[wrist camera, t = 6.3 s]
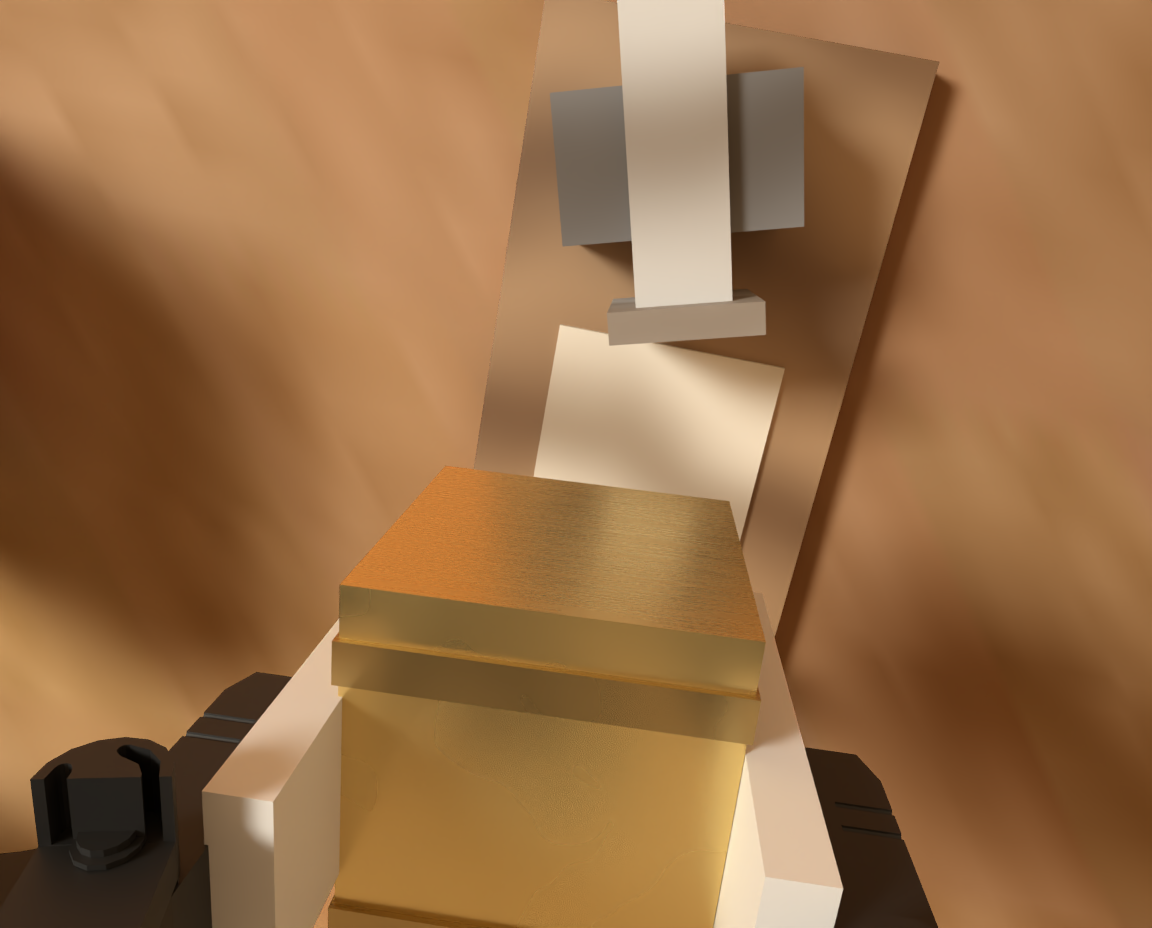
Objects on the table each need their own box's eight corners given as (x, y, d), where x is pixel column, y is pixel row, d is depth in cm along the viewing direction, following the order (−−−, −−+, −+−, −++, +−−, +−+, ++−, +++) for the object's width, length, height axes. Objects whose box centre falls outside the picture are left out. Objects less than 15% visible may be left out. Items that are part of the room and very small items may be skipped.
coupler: (442, 465, 14) (333, 587, 10) (731, 501, 14) (771, 646, 9) (427, 754, 16) (326, 982, 11) (684, 792, 16) (696, 1044, 11)
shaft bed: (718, 808, 31) (734, 947, 25) (435, 749, 31) (386, 872, 25) (927, 66, 23) (1023, 13, 17) (550, -2, 24) (517, -77, 18)
